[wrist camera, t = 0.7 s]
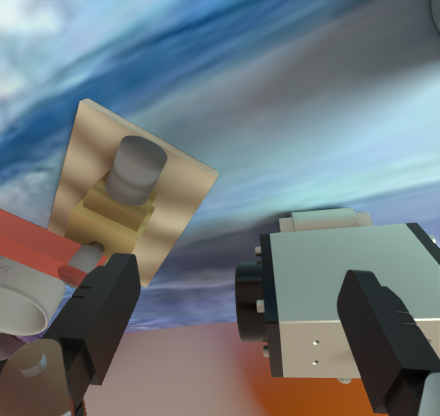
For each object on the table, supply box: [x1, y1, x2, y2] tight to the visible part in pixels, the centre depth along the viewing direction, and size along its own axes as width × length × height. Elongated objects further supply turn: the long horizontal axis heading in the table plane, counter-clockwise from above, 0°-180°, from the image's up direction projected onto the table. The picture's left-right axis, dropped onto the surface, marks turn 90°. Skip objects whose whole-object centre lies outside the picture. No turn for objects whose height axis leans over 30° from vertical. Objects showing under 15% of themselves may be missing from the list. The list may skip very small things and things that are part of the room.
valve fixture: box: [47, 98, 218, 287], centre depth 30 cm, size 21×15×9 cm
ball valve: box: [235, 208, 440, 384], centre depth 25 cm, size 18×8×18 cm, turn 99°
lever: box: [0, 209, 107, 289], centre depth 24 cm, size 16×3×2 cm, turn 60°
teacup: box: [0, 256, 66, 336], centre depth 39 cm, size 14×11×8 cm
